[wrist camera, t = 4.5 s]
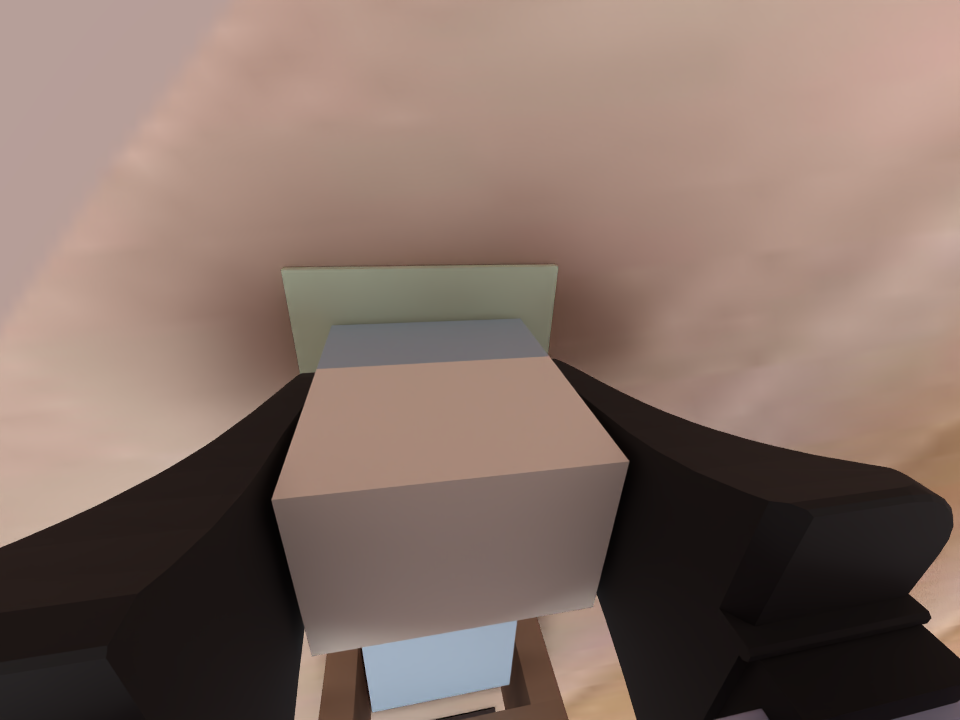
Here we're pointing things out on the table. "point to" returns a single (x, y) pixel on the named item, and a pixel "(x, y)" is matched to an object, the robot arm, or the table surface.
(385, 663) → the block
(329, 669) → the tunnel
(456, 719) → the pad
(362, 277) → the mat
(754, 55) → the table surface
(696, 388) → the table surface
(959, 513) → the table surface
